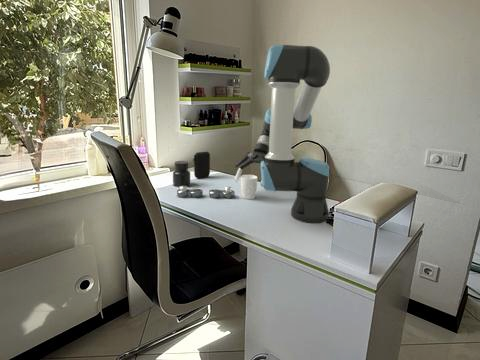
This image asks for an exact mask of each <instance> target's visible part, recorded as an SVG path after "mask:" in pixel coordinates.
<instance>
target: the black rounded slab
mask: <svg viewBox="0 0 480 360" xmlns="http://www.w3.org/2000/svg"><path fill="white" fill-rule="evenodd" d="M192 162H193V167H194V170H193V171H194V172H193V173H194V175H193V176H194V177H195V178H196V179H203V177H204V178H207V177H208V178H209V176H210V174H211V154H210V152H209V151H199V152H196V153H195V154H194V155H193V158H192Z"/></svg>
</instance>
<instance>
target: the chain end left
mask: <svg viewBox="0 0 480 360" xmlns="http://www.w3.org/2000/svg"><path fill="white" fill-rule="evenodd" d="M187 187H188V186H180V187H179V189H177V190H176V197H178V198H179V199H181V198H182V199H183V198H192V199H201V198H202V197H203V196H204V194H203V193H204V191H203V189H199V188H192V189H188V188H187Z"/></svg>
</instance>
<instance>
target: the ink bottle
mask: <svg viewBox="0 0 480 360" xmlns="http://www.w3.org/2000/svg"><path fill="white" fill-rule="evenodd" d="M172 184H173V186H175V187H178V188H180V186H187V187H188V186H190V185H191V171H190V170H189V161H186V160H177V161H174V170H173V172H172Z"/></svg>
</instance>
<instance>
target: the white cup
mask: <svg viewBox="0 0 480 360" xmlns="http://www.w3.org/2000/svg"><path fill="white" fill-rule="evenodd" d="M257 186H258V176H257V175H254V174H241V175H240V193H241V195H240V197H241V199H244V200H253V199H256V197H257V196H256V194H257V188H258V187H257Z"/></svg>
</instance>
